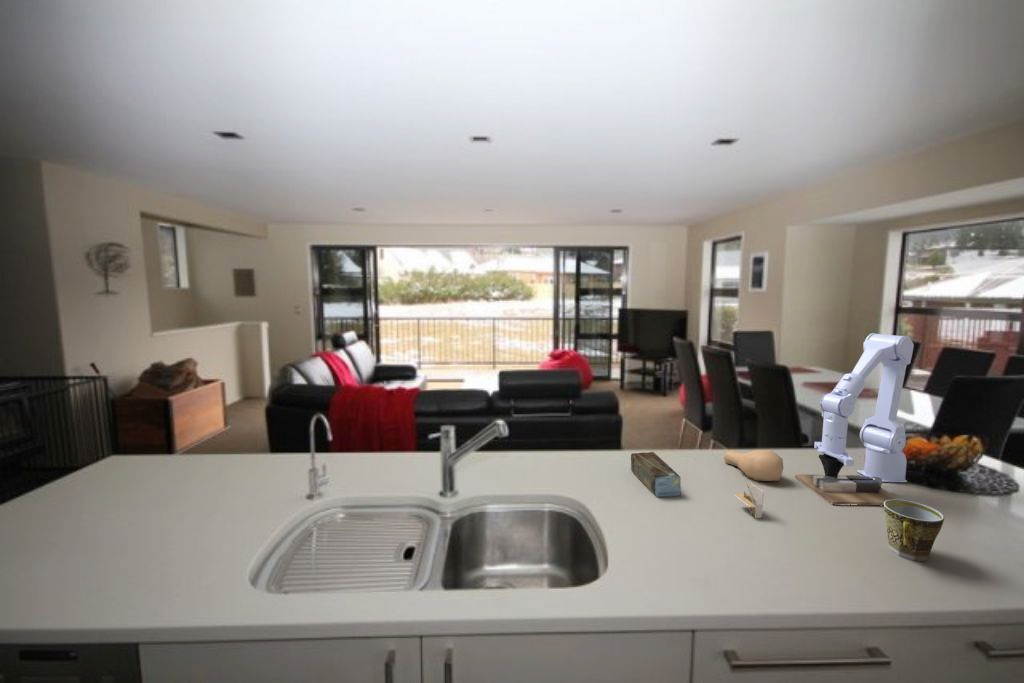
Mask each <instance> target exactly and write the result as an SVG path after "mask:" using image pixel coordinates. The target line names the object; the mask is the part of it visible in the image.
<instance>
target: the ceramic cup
mask: <svg viewBox="0 0 1024 683" xmlns="http://www.w3.org/2000/svg"><path fill="white" fill-rule="evenodd" d="M883 513H884V520H885V525H886V532H887V538H888V539H887V540H888V547H889V550H890V551H892V550H893V551H894V552H895V553H894V552H893V551H892V552H893V553H894V554H896V555H897V554H898V555H899V557H901V558H904V559H907V560H909V561H913V562H927V561H928V559H929V557H930V555H931V553H932V552H931V551H932V548H933V546H934V543H935V541H936V538H937V537H938V535H939V534H940V532H941V530H942V527H943V524H944V522H945V516H944V514H943V513H941V511H939V510H937V509H935V508H933V507H931V506H928V505H925V504H922V503H919V502H915V501H910V500H905V499H901V500H895V499H894V500H887V501H885V502H884V506H883ZM898 555H897V556H898Z"/></svg>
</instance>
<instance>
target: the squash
mask: <svg viewBox="0 0 1024 683" xmlns="http://www.w3.org/2000/svg"><path fill="white" fill-rule="evenodd" d="M723 460H724V463H726V464H727V465H728V464H729V465H733V466H735V467H737V468H739V470H741V472H742V473H744V474H745V476H746V477H747V478H749V479H751V480H754V481H755V482H768V481H769V482H772V481H773V482H775V481H780V479H781V478H782V475H783V472H784V461H783V457H781V456H780V455H779V454H778V453H776V452H774V451H772V450H771V449H755V450H751V451H748V452H741V451H738V450H734V449H731V450H727V451H726V452H724V456H723Z"/></svg>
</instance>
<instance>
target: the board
mask: <svg viewBox="0 0 1024 683" xmlns="http://www.w3.org/2000/svg"><path fill="white" fill-rule="evenodd" d="M814 476H825V474H805V473H804V474H803V473H802V474H799V473H798V474H797V473H796V474H794V478H795V479H796V478H797V479H796V480H798V481H801V482H800V483H801V484H803V485H804V484H805V486H806V487H807V486H808V487H809V489H810V488H811V489H812V490H811V489H810V490H811V491H813V490H814V491H815V492H816V494H817V493H818V494H819V495H821V496H822V497H823V498H825V499H826V500H828V501H829V502H830V503H832V504H850V505H851V504H857V505H880V506H879V507H884V506H883V505H884V502H885V501H887V500H894V499H895V500H902V498H900V497H898V496H896V495H894V494H892V493H891V492H890V491H887V490H885V488H882V487H881V489H879V493H856V492H822V491H821V490H820V489H819V487H820V486H815V485H814V484H813V478H814ZM846 476H861V474H838V476H837V477H846ZM808 487H807V488H808ZM814 491H813V492H814ZM815 492H814V493H815ZM818 494H817V495H818ZM819 495H818V496H819ZM821 496H820V497H821ZM822 497H821V498H822ZM823 498H822V499H823ZM825 499H824V500H825ZM826 500H825V501H826ZM828 501H827V502H828ZM829 502H828V503H829ZM830 503H829V504H830ZM832 504H831V505H832ZM881 505H882V506H881Z"/></svg>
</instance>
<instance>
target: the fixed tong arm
mask: <svg viewBox="0 0 1024 683" xmlns="http://www.w3.org/2000/svg"><path fill="white" fill-rule="evenodd" d="M819 489H820V490H821V491H822V492H856V493H879V482H877V481H875V480H852V481H841V480H820V487H819Z"/></svg>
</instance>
